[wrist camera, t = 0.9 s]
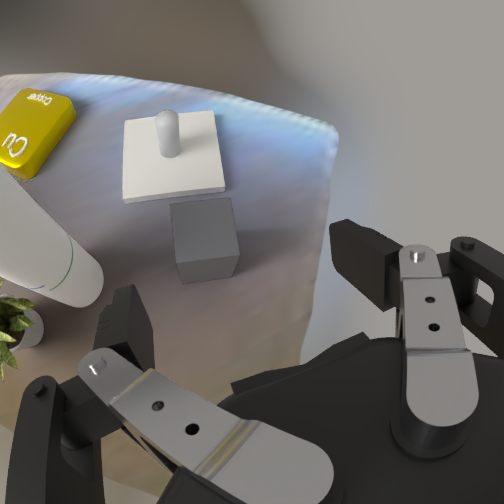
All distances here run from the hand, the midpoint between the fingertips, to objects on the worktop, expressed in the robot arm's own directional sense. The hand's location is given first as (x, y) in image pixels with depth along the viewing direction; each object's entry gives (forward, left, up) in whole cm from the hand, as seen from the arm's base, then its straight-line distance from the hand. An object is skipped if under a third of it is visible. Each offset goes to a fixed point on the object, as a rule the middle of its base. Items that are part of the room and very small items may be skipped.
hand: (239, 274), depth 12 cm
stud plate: (-3, +25, -28) cm, 37 cm away
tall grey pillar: (0, +9, -28) cm, 29 cm away
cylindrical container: (-17, +8, -28) cm, 34 cm away
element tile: (-29, +35, -28) cm, 53 cm away
